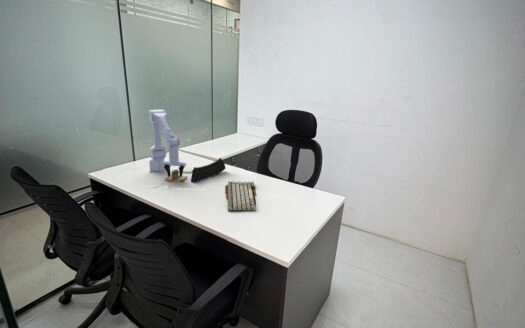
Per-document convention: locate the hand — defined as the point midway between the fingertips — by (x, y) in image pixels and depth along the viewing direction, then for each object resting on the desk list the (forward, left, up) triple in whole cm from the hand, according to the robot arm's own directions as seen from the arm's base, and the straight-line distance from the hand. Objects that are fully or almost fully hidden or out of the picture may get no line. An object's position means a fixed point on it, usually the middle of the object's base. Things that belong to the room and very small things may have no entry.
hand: (175, 176), depth 170 cm
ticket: (0, +18, -3) cm, 18 cm away
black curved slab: (+20, +11, -4) cm, 23 cm away
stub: (0, +1, -3) cm, 3 cm away
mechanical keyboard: (+46, -17, -4) cm, 49 cm away
